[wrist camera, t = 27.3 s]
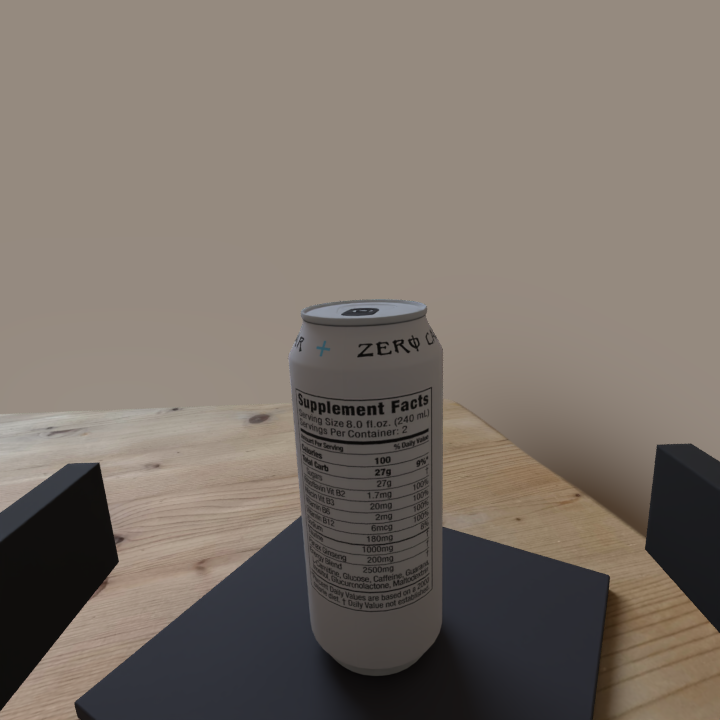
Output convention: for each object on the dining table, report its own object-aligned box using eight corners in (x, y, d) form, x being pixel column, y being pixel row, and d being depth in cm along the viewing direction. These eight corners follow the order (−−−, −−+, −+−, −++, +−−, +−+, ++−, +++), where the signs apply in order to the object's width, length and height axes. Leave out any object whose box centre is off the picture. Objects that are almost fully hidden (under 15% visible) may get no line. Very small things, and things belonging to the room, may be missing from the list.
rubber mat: (541, 1129, 10) (544, 1107, 10) (76, 717, 19) (72, 702, 19) (608, 587, 25) (610, 574, 25) (328, 502, 34) (328, 492, 34)
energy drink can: (448, 592, 24) (450, 297, 20) (434, 703, 18) (433, 322, 14) (335, 574, 25) (317, 298, 22) (290, 671, 20) (256, 321, 16)
